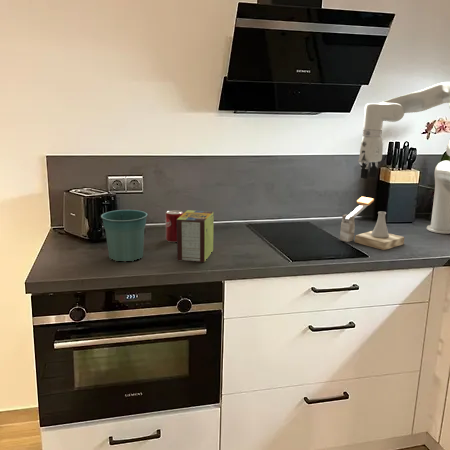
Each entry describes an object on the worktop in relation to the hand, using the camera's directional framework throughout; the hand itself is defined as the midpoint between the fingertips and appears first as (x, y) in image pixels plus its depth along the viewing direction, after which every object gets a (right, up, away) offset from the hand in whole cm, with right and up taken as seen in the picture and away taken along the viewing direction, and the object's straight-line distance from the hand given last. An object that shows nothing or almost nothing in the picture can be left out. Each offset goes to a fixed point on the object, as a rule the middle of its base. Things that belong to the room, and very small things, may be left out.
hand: (368, 177), depth 219 cm
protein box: (-71, -32, -25) cm, 82 cm away
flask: (+3, -25, -6) cm, 26 cm away
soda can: (-81, -27, -6) cm, 85 cm away
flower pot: (-97, -32, -29) cm, 106 cm away
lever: (-4, -15, 0) cm, 15 cm away
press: (0, -27, -3) cm, 27 cm away
